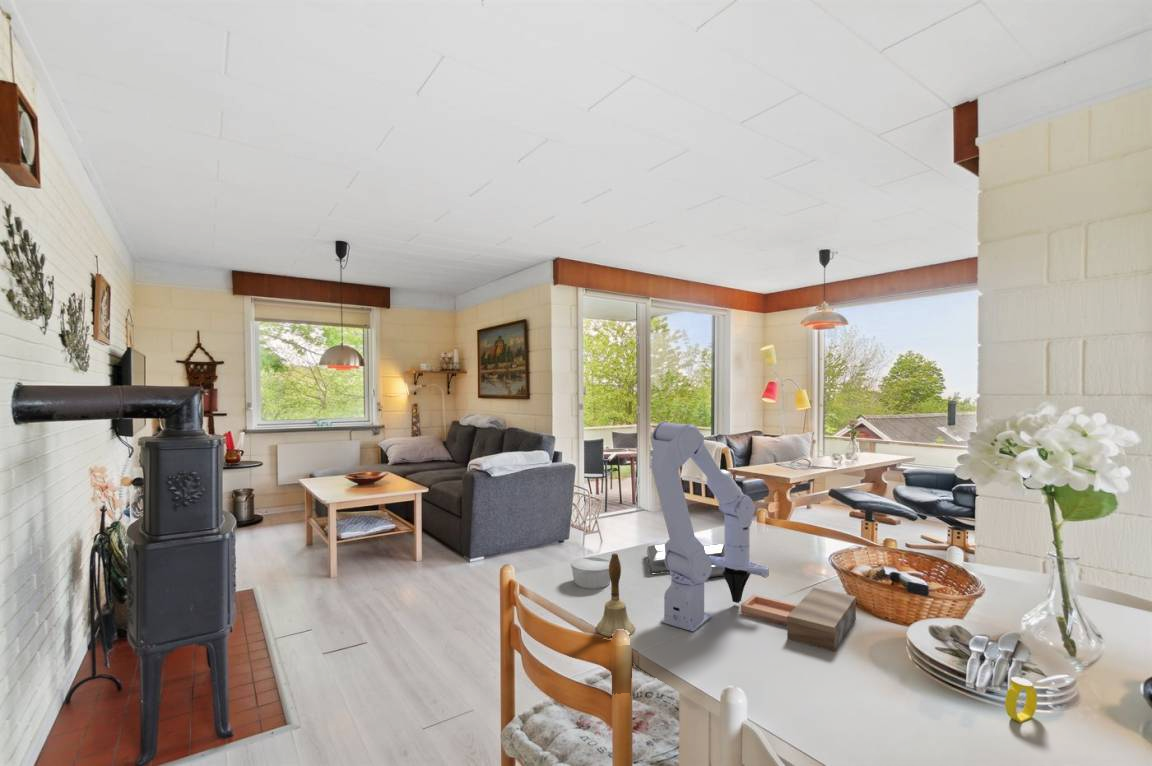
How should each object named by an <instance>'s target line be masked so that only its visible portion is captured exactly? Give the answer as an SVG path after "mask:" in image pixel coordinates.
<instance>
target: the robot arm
mask: <svg viewBox="0 0 1152 766" xmlns="http://www.w3.org/2000/svg"><path fill="white" fill-rule="evenodd" d="M649 438H650V442H651V443H650V444H651V446H652V453H651V465H650V466H651V471H652V475H653V479H654V483H655V487H656V490H657V494H658V499H659V502H660V506H661V509H662V514H663V518H664V522H665V527H666V529H667V534H668V538H669V539H668V540H666V541H665V543H663V544H664V548H665V565H666V567H667V569H668V570H670V572H669V576H670V577H671V582H670V585H669V586H668V588H667V589H666V590H665V592H664V599H663V600H664V601H663V602H664V603H663V605H664V606H663V609H664V611H663V612H664V614H663V615H664V616H663V617H662V618H660V622H661V623H663V624H666V625H670V626H673V627H677V628H679V629H680V628H681V629H683V630H687V631H689V630H690V632H695V631H696V630H698V628H700V627H701V626H702V625H703V624H705V623H706V622H707V621H708V620H709V619H711V618H712V615H711V614H709V613H706V612H705V583H707V580H708V579H710V578H709V576H710V574H711V571H712V566H717V567H722V568H725V570H724V572H723V576H722V577H723V578H724V579H725V581H726V583H727V586H728V588H729V591H730V595H731V601H732V602H733V603H737V604H739V603H740V602H741V601H742V598H743V593H744V589H745V586H746V584H747V582H748V580H749V578H750V576H751V575H754V576H761V577H762V578H765V579H766V578H768V577H769V576H770V567H769V566H764V565H761V564H758V563H755V562H753V561H750V554H751V553H750V552H751V551H750V550H751V549H750V543H751V542H750V538H751V537H750V533H751V532H750V527H751V526H752V524H753V523H752V522H753V521H752V520H753V517H754V514H755V511H756V506H755V503H754V501H753V499H752V498H751V497H750V495H746V494H744V493H743V491H742V488H741V486H739V485H738V484H737V483H736V481H735V479H734V477H733V474H732V473H731V471H727V470H726V469H721V468H720V467H719V465H718V464H717V462H716V460H715V459H714V457H713V455H712V454H711V452H710V451H709V449H708V447H707V445H706V444H705V436H704V435H703V434H702V432H700V429H699V428H698V426H697V425H695V424H692V423H686V424H685V423H676V422H669V421H661V422H659V423H658V424H656V426H655V427H654V429H653V431H652V433H651V434H650V436H649ZM689 459H691V460H692V461H693V462H694V463H695V464H696V466H697V467H698V468H699V470H701V472H702V473H703V474H704V475H705V476H706V485H707V487H708V489H709V490H710V491H711V493H712V494H713V495H714V496H715V498H716V500H717V502H718V509H719V512H721V513H722V514H724V541H723V542H724V543H723V544H724V557H716V556H708V555H707V554H706V552H705V548H704V546H705V545H703V544H702V543H701V541H700V540H699V539H698V538H697V537H696V536H695V532H694V528H693V524H692V519H691V516H690V512H689V509H688V503H687V500H686V496H685V495H686V494H685V492H684V488H683V484H682V479H681V476H680V471H679V470H680V469H681V467H682V466H684V464H685V463H687V461H688V460H689Z"/></svg>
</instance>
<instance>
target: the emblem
mask: <svg viewBox="0 0 1152 766" xmlns="http://www.w3.org/2000/svg"><path fill="white" fill-rule="evenodd" d="M664 544H665V543H659V544H658V543H657V544H652V545H648V546H647V548H646V555H647V561H648V566H649V570H650V571H649V572H650V574H651V573H661V572H668V573H670V570H668V569H667V567H666V565H665V548H664ZM703 546H704V548H705V552H706V554H707V555H708V556H716V557H724V543H718V544H709V545H703ZM724 570H725V568H722V567H717V566H712V571H711V574H710V576H709V578H708V579H710V578H716V577H724V576H723V572H724ZM661 574H662V573H661Z"/></svg>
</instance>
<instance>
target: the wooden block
mask: <svg viewBox="0 0 1152 766" xmlns="http://www.w3.org/2000/svg"><path fill="white" fill-rule="evenodd" d="M796 605H797V606H796V607H795V608H794V609H793V610H792V611H791V612H790V613H789V615H788V616H787V626H786V629H787V631H786V634H787V637H786V639H787V638H788V639H787V640H792V641H794V640H795V641H794V642H798V643H801V644H805V645H809V646H812V647H816V648H820V649H823V650H826V651H827V650H828V651H831V652H836V649H837V648H838V646H839V645H840V643H841V642H842V640H843V638H845V635H846V634H847V632H848V631H849V629H850V627H851V626H852V624H853V623H854V621H855V619H856V618H857V597H856V596H854V595H851V594H845V593H840V592H838V591H837V592H836V591H831V590H827V589H823V588H817V587H812V589H811V590H810V591H809V592H808V593H807V594H806V595H805V596H804V597H803V598H802V599H801V601H800V602H799V603H798V604H796Z"/></svg>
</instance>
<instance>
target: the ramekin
mask: <svg viewBox="0 0 1152 766" xmlns="http://www.w3.org/2000/svg"><path fill="white" fill-rule="evenodd" d="M610 560H611V559H610ZM610 560H609V559H606V558H604V557H603V558H602V557H598V556H597V557H596V556H588V557H587V556H586V557H579V558H576V559H573V560H572V562H571V564H570V568H571V571H572V577H573V582H574V584H575V585H576V586H578V587H580V588H582V589H586V590H587V589H589V590H597V589H602V588H606V587H607V586H609V585H610V583H611V579H610V575H609V564H610Z"/></svg>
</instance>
